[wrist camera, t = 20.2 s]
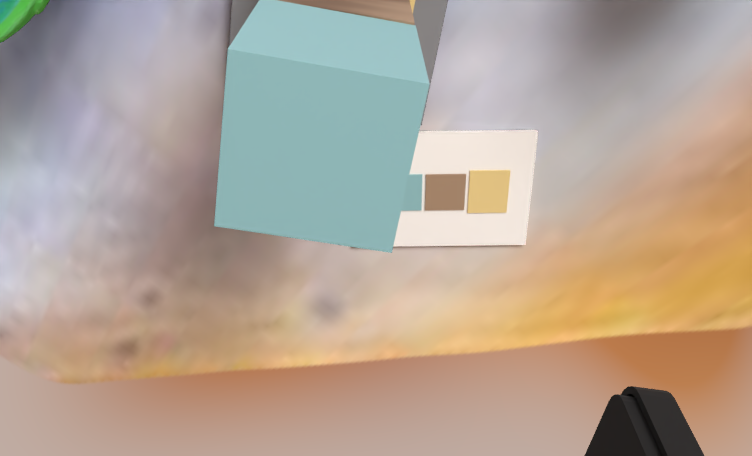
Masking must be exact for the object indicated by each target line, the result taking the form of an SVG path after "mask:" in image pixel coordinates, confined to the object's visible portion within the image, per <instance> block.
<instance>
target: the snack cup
mask: <svg viewBox="0 0 752 456" xmlns="http://www.w3.org/2000/svg"><path fill="white" fill-rule="evenodd" d="M49 1H50V0H0V43H1V42H3V41H5V40H6V39H8V38H9V37H11V36H12V35H13V34H15V33H16V32H17V31H19V30H20V29H21V28H22V27H23V26H24V25H25V24H27V23H28V22H29V21H30V20H31V18H32V17H33V16H34V15H35V14H40V13H41V12H42V11H43V10H44V8H45V7H46V5H47V4H48V2H49Z"/></svg>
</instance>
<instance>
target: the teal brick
mask: <svg viewBox="0 0 752 456" xmlns="http://www.w3.org/2000/svg"><path fill="white" fill-rule="evenodd" d="M429 85H430V84H429V79H428V75H427V71H426V67H425V63H424V58H423V54H422V50H421V46H420V41H419V37H418V33H417V29H416V25H410V24H405V23H399V22H394V21H388V20H383V19H377V18H372V17H366V16H361V15H355V14H350V13H344V12H339V11H333V10H328V9H322V8H317V7H311V6H306V5H300V4H295V3H289V2H284V1H278V0H259V1H258V3H257V5H256V6H255V8H254V9H253V11H252V12H251V14H250V15H249V17H248V18H247V20H246V22H245V23H244V25H243V26H242V28H241V29H240V31H239V32H238V34H237V35H236V37H235V39H234V40H233V42H232V43H231V45H230V46H229V48H228V53H227V66H226V79H225V92H224V105H223V118H222V131H221V144H220V157H219V170H218V183H217V196H216V209H215V222H214V226H217V227H223V228H230V229H237V230H244V231H250V232H257V233H264V234H270V235H277V236H284V237H290V238H297V239H304V240H310V241H317V242H324V243H330V244H337V245H344V246H350V247H357V248H364V249H370V250H377V251H384V252H390V253H392V249H393V245H394V240H395V236H396V231H397V227H398V222H399V218H400V214H401V209H402V205H403V200H404V196H405V191H406V187H407V182H408V178H409V174H410V169H411V165H412V160H413V156H414V151H415V147H416V142H417V138H418V133H419V129H420V125H421V120H422V116H423V111H424V107H425V102H426V98H427V93H428V89H429Z"/></svg>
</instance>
